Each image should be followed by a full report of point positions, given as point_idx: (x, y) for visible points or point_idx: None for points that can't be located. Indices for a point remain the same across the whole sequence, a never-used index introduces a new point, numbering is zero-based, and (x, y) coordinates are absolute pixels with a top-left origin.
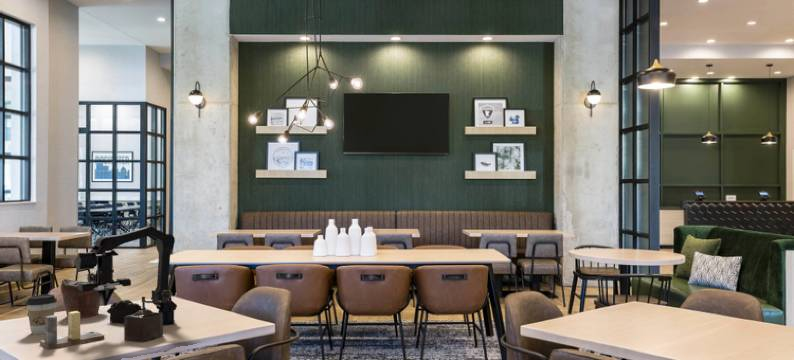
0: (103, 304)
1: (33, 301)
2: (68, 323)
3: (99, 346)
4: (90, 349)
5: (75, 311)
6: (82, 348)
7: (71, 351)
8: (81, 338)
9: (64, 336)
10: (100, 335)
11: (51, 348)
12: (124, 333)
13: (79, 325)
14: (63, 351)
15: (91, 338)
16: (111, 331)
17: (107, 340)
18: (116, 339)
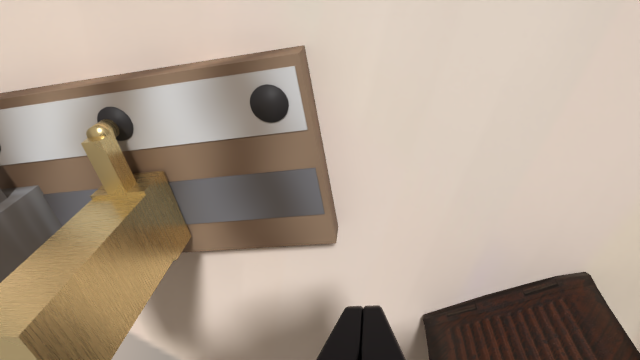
0: (340, 328)
1: None
2: (40, 253)
3: (288, 338)
4: (247, 353)
5: (10, 348)
6: (214, 321)
7: (170, 332)
8: (198, 229)
9: (75, 100)
10: (312, 232)
11: None
12: (428, 350)
13: (142, 301)
14: None
15: (257, 244)
16: (453, 11)
17: (345, 265)
18: (394, 277)
